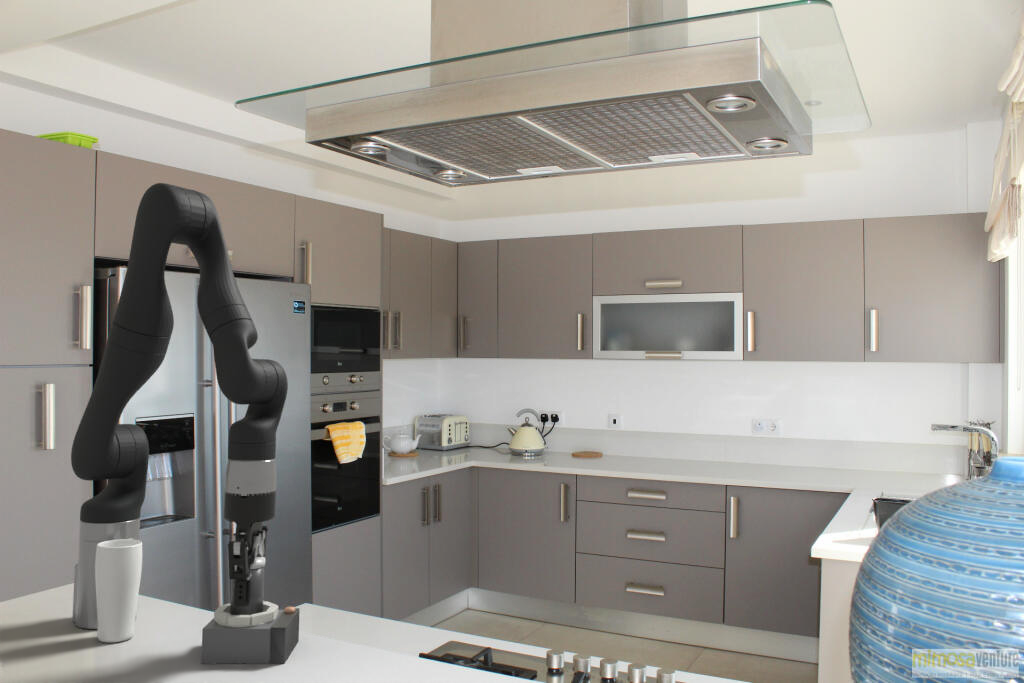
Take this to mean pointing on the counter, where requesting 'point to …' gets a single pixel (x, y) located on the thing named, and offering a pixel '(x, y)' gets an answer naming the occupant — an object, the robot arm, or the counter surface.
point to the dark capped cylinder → (256, 591)
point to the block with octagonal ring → (251, 636)
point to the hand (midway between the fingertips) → (246, 600)
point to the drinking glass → (117, 588)
